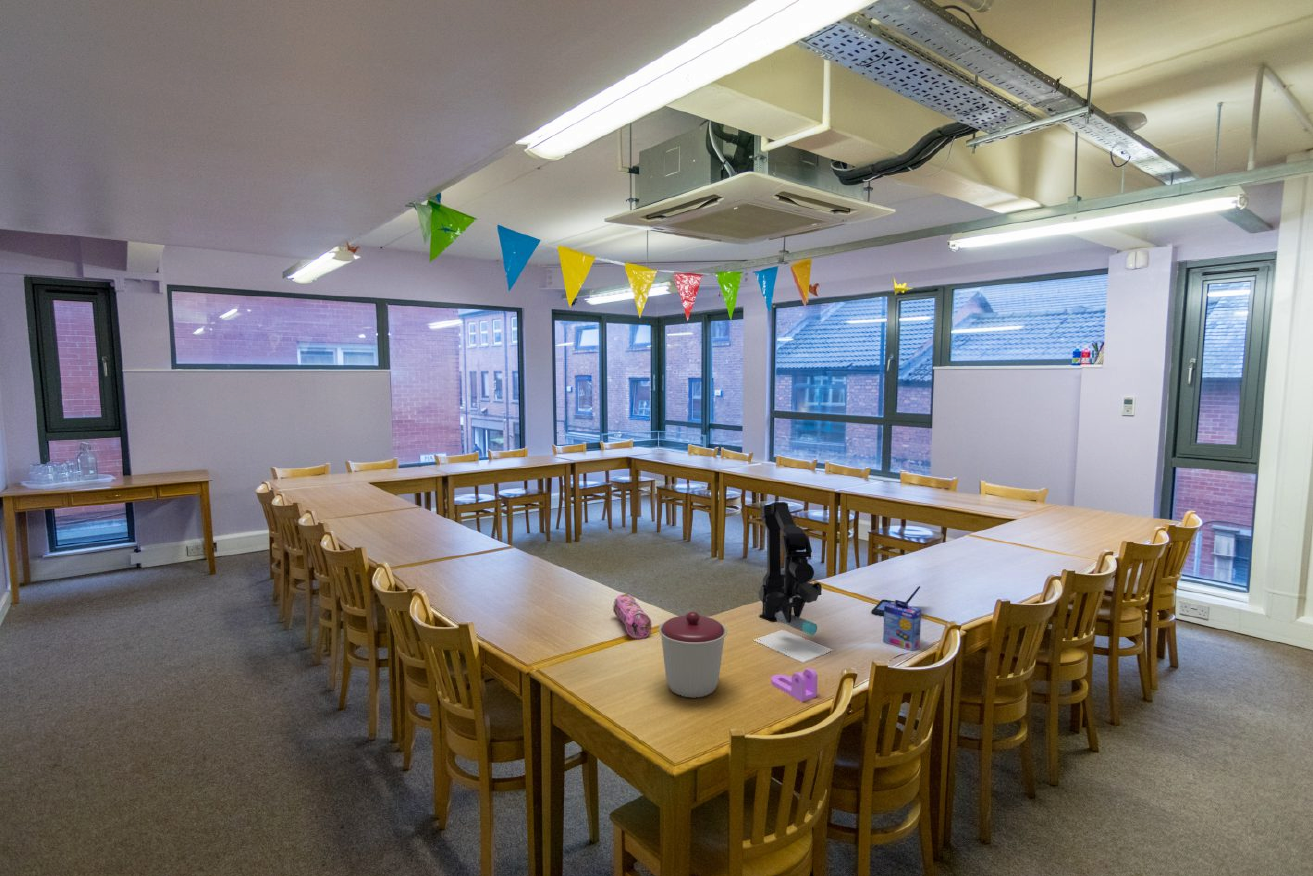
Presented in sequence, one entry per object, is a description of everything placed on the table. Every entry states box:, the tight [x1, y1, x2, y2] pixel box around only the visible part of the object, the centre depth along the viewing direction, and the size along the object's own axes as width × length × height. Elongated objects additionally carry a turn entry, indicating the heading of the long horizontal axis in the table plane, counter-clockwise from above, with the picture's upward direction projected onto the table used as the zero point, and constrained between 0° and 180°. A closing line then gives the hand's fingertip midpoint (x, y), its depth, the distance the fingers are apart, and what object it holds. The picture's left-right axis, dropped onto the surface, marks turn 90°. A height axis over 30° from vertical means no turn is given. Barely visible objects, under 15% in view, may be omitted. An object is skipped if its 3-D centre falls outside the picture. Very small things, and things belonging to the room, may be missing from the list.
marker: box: [775, 611, 818, 636], centre depth 197 cm, size 15×4×4 cm, turn 38°
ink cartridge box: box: [882, 599, 922, 652], centre depth 199 cm, size 10×6×14 cm, turn 45°
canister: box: [658, 611, 728, 698], centre depth 169 cm, size 18×18×21 cm
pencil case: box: [612, 593, 652, 640], centre depth 211 cm, size 21×9×9 cm, turn 18°
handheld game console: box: [870, 585, 921, 618], centre depth 227 cm, size 16×13×9 cm
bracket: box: [770, 668, 818, 703], centre depth 170 cm, size 13×6×7 cm, turn 33°
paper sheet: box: [753, 629, 834, 664], centre depth 198 cm, size 20×14×1 cm
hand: (792, 621), depth 197 cm, fingers closed on marker, 4 cm apart
